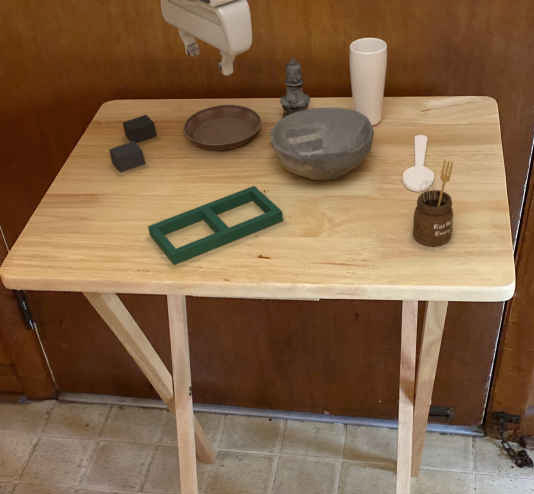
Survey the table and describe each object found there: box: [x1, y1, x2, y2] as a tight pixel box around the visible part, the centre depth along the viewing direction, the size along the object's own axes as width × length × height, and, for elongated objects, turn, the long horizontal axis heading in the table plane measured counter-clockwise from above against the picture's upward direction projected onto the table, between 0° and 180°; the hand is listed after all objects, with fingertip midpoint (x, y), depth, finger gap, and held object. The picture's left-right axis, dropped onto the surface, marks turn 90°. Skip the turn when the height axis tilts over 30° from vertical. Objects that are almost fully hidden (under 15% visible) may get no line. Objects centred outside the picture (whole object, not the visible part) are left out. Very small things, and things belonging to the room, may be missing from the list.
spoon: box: [402, 134, 435, 193], centre depth 143 cm, size 5×18×1 cm, turn 170°
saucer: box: [183, 104, 262, 151], centre depth 155 cm, size 15×15×3 cm
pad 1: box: [122, 114, 158, 144], centre depth 157 cm, size 5×4×3 cm
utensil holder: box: [412, 159, 454, 247], centre depth 124 cm, size 6×6×12 cm
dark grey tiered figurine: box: [279, 57, 311, 118], centre depth 155 cm, size 6×6×12 cm
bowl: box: [269, 106, 375, 181], centre depth 142 cm, size 18×18×8 cm
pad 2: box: [108, 141, 146, 174], centre depth 150 cm, size 5×4×3 cm
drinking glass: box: [348, 37, 388, 127], centre depth 151 cm, size 7×7×15 cm
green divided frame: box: [147, 185, 284, 266], centre depth 133 cm, size 20×9×2 cm, turn 120°
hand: (209, 63), depth 130 cm, fingers open, 8 cm apart
